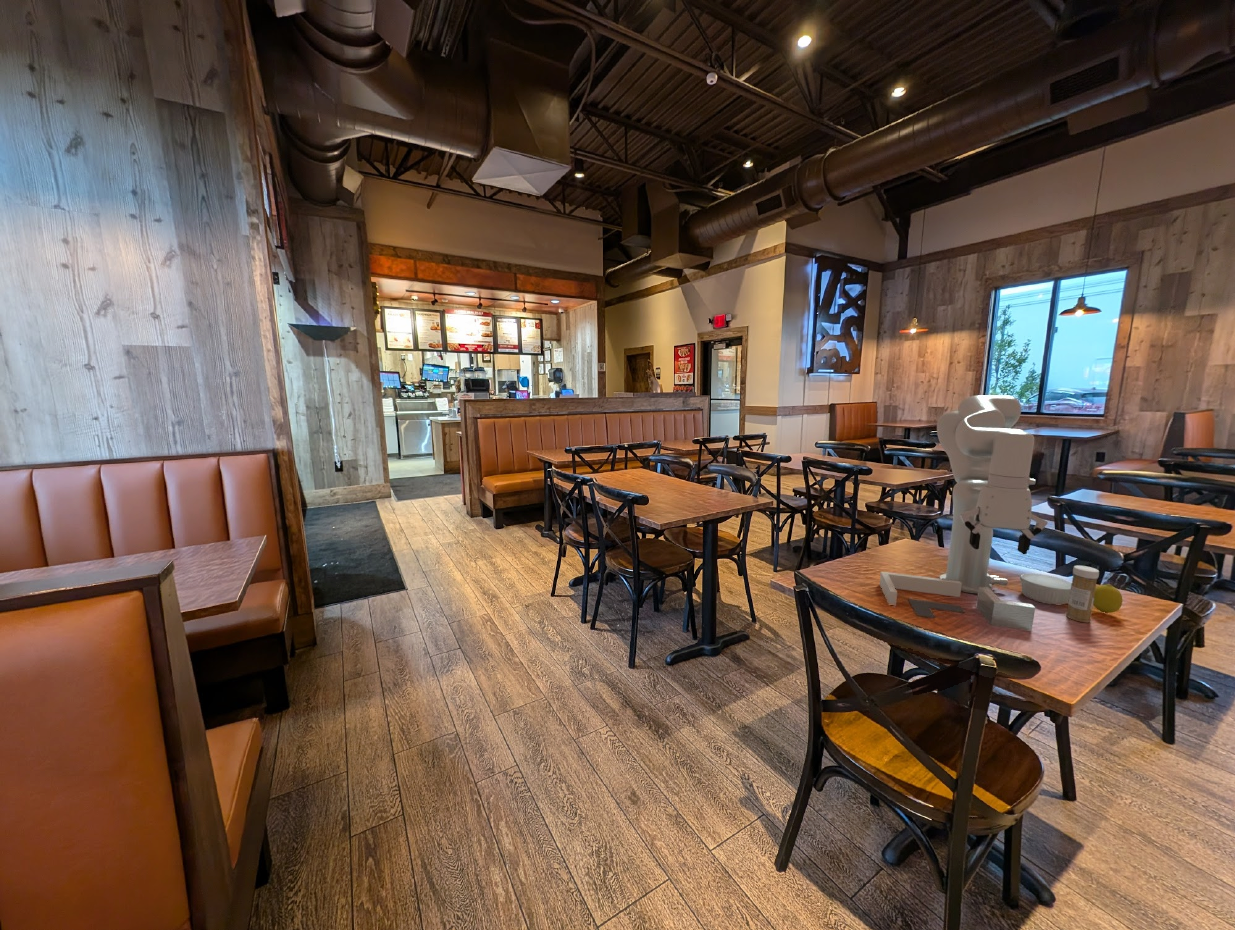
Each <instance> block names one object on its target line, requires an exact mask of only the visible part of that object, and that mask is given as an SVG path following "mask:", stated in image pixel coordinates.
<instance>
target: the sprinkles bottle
mask: <svg viewBox="0 0 1235 930" xmlns="http://www.w3.org/2000/svg"><path fill="white" fill-rule="evenodd" d="M1099 576H1100V571H1099V569H1097V568H1094V567H1090V566H1086V565H1074V566H1073V569H1072V580H1071V583H1072V584H1071V590H1070V595H1069V601H1068V603H1067V605H1068V606H1067V610H1066V611H1067V612H1066V613H1065V616H1066V617H1067V618H1069V619H1071V620H1073V621H1076V622H1079V623H1090V622H1091V620H1092V619H1091V616H1092V612H1093V611H1092V610H1093V607H1094V605H1093V602H1094V594H1095V588H1096V587H1097V580H1098V578H1099Z"/></svg>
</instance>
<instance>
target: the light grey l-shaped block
mask: <svg viewBox="0 0 1235 930" xmlns="http://www.w3.org/2000/svg"><path fill="white" fill-rule="evenodd" d="M961 585H962V583H961V582H960V581H953V580H945V579H939V578H935V577H927V576H920V575H910V574H905V573H904V574H903V573H897V572H896V573H894V572H887V571H880V576H879V586H880V588H882V589H881V591H882V593H883V596H884V595H885V596H884V598H885V599H887V600H886V602H887V601H888V602H887V604H888V603H889V604H892V605H895V606H894V607H897V600H898V599H897V597H898V591H897V590H904V591H911V592H919V593H926V594H927V593H928V594H934V595H940V596H942V595H943V596H948V597H949V596H950V597H956V598H961V593H962V591H961ZM895 588H896V589H895ZM889 604H888V605H889Z"/></svg>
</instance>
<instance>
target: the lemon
mask: <svg viewBox="0 0 1235 930" xmlns="http://www.w3.org/2000/svg"><path fill="white" fill-rule="evenodd" d="M1122 605H1123V595H1122V593H1121V592H1120V590H1119V589H1118V588H1117V587H1114V586H1113V585H1112V584H1109V583H1108V584H1102V585H1098V586H1096V588H1095V594H1094V602H1093V607H1094V608H1095V609H1096V610H1098V611H1100V612H1101V613H1102V612H1105V613H1107V614H1108V613H1109V614H1110V613H1115V612H1117V611H1119V610H1120V609H1121V607H1122Z"/></svg>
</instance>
